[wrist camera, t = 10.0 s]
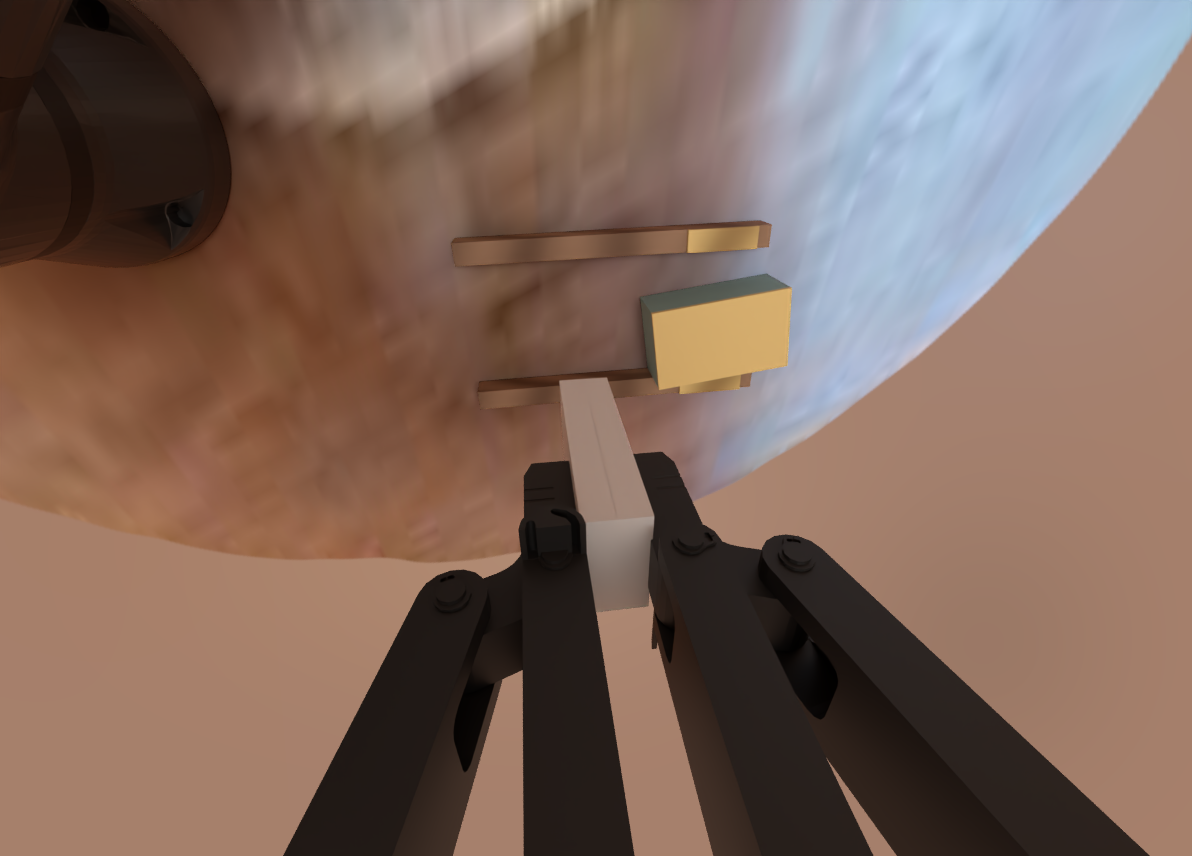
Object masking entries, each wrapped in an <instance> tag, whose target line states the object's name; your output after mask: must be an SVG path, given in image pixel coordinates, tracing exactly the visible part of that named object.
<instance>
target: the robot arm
mask: <svg viewBox="0 0 1192 856" xmlns="http://www.w3.org/2000/svg"><path fill="white" fill-rule="evenodd" d="M229 189H230V160H229V153H228V147H227V143H226V139H225V135H224V131H223V128H222V125H221V122H220V120H219V117H218V115H217V112H216V110H215V108H214V106H213V103H212V101H211V99H210V97H209V95H208V94H207V92H206V90H205V88H204V86H203V85H202V83H201V81H200V80H199V78H198V77H197V75H196V74H195V72H194V71H193V69H192V68H191V66H190V65H189V63H188V62H187V61H186V59H185V58H184V57H183V55H182V54H181V53H180V52H179V51H178V49H177V48H176V47H175V46H174V45H173V43H172V42H171V41H170V40H169V39H168V38H167V37H166V36H165V35H164V34H163V33H162V32H161V31H160V30H159V29H158V28H157V27H156V26H155V25H154V24H153V23H152V22H151V21H150V20H149V19H148V18H147V17H146V16H144V15H143V14H142V13H141V12H140V11H139V10H137V9H136V8H135V7H134V6H132V5H131V4H130V3H129V2H127V1H126V0H0V267H4V266H8V265H12V264H15V263H19V262H23V261H27V260H31V259H39V260H48V261H57V262H65V263H74V264H82V265H91V266H100V267H114V268H118V267H134V266H142V265H148V264H152V263H156V262H159V261H162V260H165V259H168V258H171V257H174V256H177V255H180V254H182V253H184V252H187V251H189V250H191V249H192V248H194V247H196V246H197V245H198V244H200V243H201V242H202V241H203V240H204V239H206V238H207V237H208V236H209V234H210V233H211V232H212V231H213V230H214V228H215V227H216V226H217V224H218V222H219V221H220V219H221V217H222V215H223V212H224V210H225V207H226V204H227V200H228V195H229ZM559 385H560V403H561V422H562V440H563V455H564V461H559V462H547V463H535V464H531V466H530V467H529V469H528V470H527V472H526V474H525V475H524V518H523V519H522V520H521V523H520V526H519V539H520V547H521V555H520V557H519V558H518V559H517V560H516V562H515V563H514V564H513V565H511V566H510V567H509V568H507V569H505V570H503V571H501V572H499V573H497V574H494V575H492V576H489V577H486V578H484V579H483V578H482V577H481V576H479V575H478V574H476V573H475V572H471V571H467V570H453V571H448V572H446V573H443V574H440V575H438V576H436V577H435V578H433V579H432V580H431V581H429V582H428V583H426V584H425V586H424V587H423V588H422V590H421V591H420V592H419V594H418V596H417V597H416V599H415V601H414V603H413V605H412V607H411V609H410V611H409V613H408V615H407V617H406V619H405V621H404V623H403V625H402V627H401V629H400V630H399V633H398V634H397V636H396V638H395V640H394V642H393V644H392V646H391V648H390V650H389V652H388V654H387V656H386V658H385V660H384V661H383V663H382V665H381V667H380V669H379V671H378V673H377V675H376V677H375V679H374V681H373V683H372V685H371V687H370V689H369V690H368V692H367V694H366V697H365V698H364V700H363V702H362V704H361V706H360V708H359V710H358V712H357V714H356V716H355V718H354V720H353V721H352V723H351V725H350V727H349V729H348V731H347V733H346V735H345V737H344V739H343V741H342V743H341V745H340V747H339V749H338V750H337V752H336V754H335V756H334V758H333V760H332V762H331V764H330V766H329V768H328V770H327V772H326V774H325V776H324V778H323V780H322V782H321V783H320V785H319V787H318V789H317V791H316V793H315V795H314V797H313V799H312V801H311V803H310V805H309V807H308V809H307V811H306V812H305V815H304V817H303V818H302V820H301V822H300V824H299V826H298V828H297V830H296V832H295V834H294V836H293V838H292V840H291V842H290V844H289V845H288V847H287V849H286V851H285V853H284V855H283V856H453V853H454V849H455V846H456V842H457V839H458V834H459V831H460V828H461V824H462V821H463V817H464V814H465V810H466V807H467V803H468V800H469V796H470V793H471V789H472V786H473V782H474V778H475V775H476V772H477V768H478V764H479V760H480V757H481V754H482V750H483V747H484V743H485V740H486V736H487V733H488V729H489V726H490V722H491V719H492V715H493V712H494V708H495V705H496V701H497V697H498V693H499V690H500V687H501V683H502V679H504V678H506V677H508V676H510V675H513V674H515V673H517V672H519V671H521V670H523V795H524V796H523V800H524V801H523V803H524V805H523V808H524V856H634V851H633V843H632V838H631V831H630V824H629V818H628V812H627V805H626V799H625V792H624V787H623V780H622V773H621V767H620V761H619V755H618V748H617V742H616V735H615V729H614V723H613V716H612V711H611V704H610V698H609V691H608V685H607V678H606V672H605V666H604V659H603V653H602V647H601V640H600V634H599V628H598V621H597V615H596V612H603V611H611V610H620V609H629V608H637V607H646V606H648V604H649V592H650V596H651V599H652V603H653V607H654V616H653V628H652V649H656V648H657V642H658V646H659V650H660V654H661V658H662V661H663V665H664V669H665V673H666V677H667V680H668V684H669V688H670V692H671V696H672V700H673V703H674V707H675V711H676V715H677V719H678V722H679V726H680V730H681V734H682V737H683V742H684V745H685V749H686V753H687V757H688V761H689V764H690V768H691V772H692V776H693V780H694V784H695V787H696V791H697V795H698V799H699V802H700V806H701V810H702V814H703V818H704V821H705V826H706V829H707V833H708V837H709V841H710V845H711V849H712V852H713V856H873V854H872V852H871V850H870V848H869V846H868V844H867V842H866V839H865V837H864V835H863V833H862V831H861V830H860V827H859V825H858V823H857V821H856V819H855V817H854V815H853V813H852V811H851V809H850V806H849V805H848V802H847V800H846V798H845V796H844V794H843V792H842V790H841V788H840V786H839V784H838V781H837V779H836V777H835V775H834V773H833V771H832V769H831V767H830V765H829V763H828V761H827V759H828V760H829V762H830V763H831V765H832V766H833V767H834V769H835V770H836V771H837V773H838V774H839V776H840V777H841V779H842V780H843V781H844V783H845V784H846V786H847V787H848V788H849V790H850V791H851V792H852V794H853V795H854V797H855V798H856V799H857V801H858V802H859V804H860V805H861V806H862V808H863V809H864V811H865V812H866V813H867V815H868V816H869V817H870V819H871V820H872V821H873V823H874V824H875V826H876V827H877V829H878V830H879V831H880V833H881V834H882V835H883V837H884V838H885V840H886V841H887V843H888V844H889V845H890V847H891V848H892V849H893V851H894V852H895V853H896V855H897V856H1149V855H1148V854H1147V853H1146V852H1145V851H1144V850H1143V849H1142V848H1141V847H1140V846H1139V845H1138V844H1137V843H1136V842H1135V841H1133V840H1132V839H1131V838H1130V837H1129V836H1128V835H1127V834H1126V833H1125V832H1124V831H1123V830H1122V829H1121V828H1120V827H1118V826H1117V825H1116V824H1115V823H1114V822H1113V821H1112V820H1111V819H1110V818H1109V817H1108V816H1107V815H1106V814H1105V813H1104V812H1102V811H1101V810H1100V809H1099V808H1098V807H1097V806H1096V805H1095V804H1094V803H1093V802H1092V801H1091V800H1090V799H1089V798H1087V797H1086V796H1085V795H1084V794H1083V793H1082V792H1081V791H1080V790H1079V789H1078V788H1077V787H1076V786H1075V785H1074V784H1073V783H1071V782H1070V781H1069V780H1068V779H1067V778H1066V777H1065V776H1064V775H1063V774H1062V773H1061V772H1060V771H1059V770H1058V769H1057V768H1055V767H1054V766H1053V765H1052V764H1051V763H1050V762H1049V761H1048V760H1047V759H1046V758H1045V757H1044V756H1042V755H1041V754H1040V753H1039V752H1038V751H1037V750H1036V749H1035V748H1034V747H1033V746H1032V745H1031V744H1030V743H1029V742H1028V741H1027V740H1026V739H1024V738H1023V737H1022V736H1021V735H1020V734H1019V733H1018V732H1017V731H1016V730H1015V729H1014V728H1013V727H1012V726H1011V725H1010V724H1008V723H1007V722H1006V721H1005V720H1004V719H1003V718H1002V717H1001V716H1000V715H999V714H998V713H996V711H995V710H994V709H992V708H991V707H990V706H989V705H988V704H987V703H986V702H985V701H984V700H983V699H982V698H981V697H980V696H979V695H977V694H976V693H975V692H974V691H973V690H972V689H971V688H970V687H969V686H968V685H967V684H966V683H965V682H964V681H963V680H961V679H960V678H959V677H958V676H957V675H956V674H955V673H954V672H953V671H952V670H951V669H950V668H949V667H948V666H946V665H945V664H944V663H943V662H942V661H941V660H940V659H939V658H938V657H937V656H936V655H935V654H934V653H933V652H932V651H930V650H929V649H928V648H927V647H926V646H925V645H924V644H923V643H922V642H921V641H920V640H918V638H916V636H914V635H913V634H912V633H911V632H910V631H909V630H908V629H907V628H906V627H905V626H904V625H903V624H902V623H901V622H899V621H898V620H897V619H896V618H895V617H894V616H893V615H892V614H891V613H890V612H889V611H888V610H887V609H886V608H885V607H883V606H882V605H881V604H880V603H879V602H878V601H877V600H876V599H875V598H874V597H873V596H872V595H871V594H870V593H869V592H867V591H866V590H865V589H864V588H863V587H862V586H861V585H860V584H859V583H858V582H857V581H856V580H855V579H854V578H853V577H851V576H850V575H849V574H848V573H847V572H846V571H845V570H844V569H843V568H842V567H841V566H840V565H839V564H838V563H836V562H835V561H834V560H833V559H832V558H831V557H830V556H829V555H828V554H827V553H826V552H825V551H824V550H823V549H821V548H820V547H819V546H817V545H816V544H814V543H813V542H812V541H809V540H806V539H804V538H802V537H799V536H793V535H779V536H774V537H772V538H770V539H769V540H767V541H766V542H765V544H764V546H763V547H762V550H759V549H751V548H744V547H739V546H734V545H730V544H727V543H725V542H722V541H721V539H720V538H719V536H718V535H717V534H716V533H715V531H713V530H712V529H710V528H708V527H707V526H705V525H703V524H702V522H701V520H700V517H699V515H698V513H697V511H696V509H695V506H694V504H693V502H692V500H691V498H690V496H689V493H688V491H687V489H686V487H685V486H684V482H683V480H682V478H681V477H680V474H679V472H678V469H677V467H676V465H675V463H674V461H672V460H671V459H670V458H669V457H667V456H666V455H665V454H664V453H663V452H653V453H640V454H633V452H632V449H631V446H630V444H629V441H628V438H627V435H626V432H625V429H624V426H623V423H622V420H621V417H620V414H619V412H618V409H617V406H616V403H615V400H614V397H613V394H612V391H611V388H610V385H609V382H608V380H607V377H606V378H591V379H575V380H560V381H559ZM826 758H827V759H826Z"/></svg>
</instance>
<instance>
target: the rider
mask: <svg viewBox="0 0 1192 856" xmlns="http://www.w3.org/2000/svg"><path fill="white" fill-rule="evenodd" d="M791 293H792V288H791V287H789V286H787V285H786V284H784V283H782V282H780V281H779V280H777V279H775V278H773V277H772V276H770V275H768V274H762V275H757V276H751V277H746V278H740V279H735V280H730V281H724V282H719V283H713V284H708V285H702V286H697V287H692V288H686V289H681V290H675V291H670V292H664V293H659V294H654V295H648V296H643V297H640V301H641V310H642V320H643V329H644V339H645V349H646V358H647V368H648V370H649V372H650V373H651V375H652V377H653V379H654V381H655V383H656V385H657V387H658V389H659V390H662V389H668V388H673V387H678V386H684V385H689V384H694V383H699V382H705V381H710V380H715V379H720V378H726V377H731V376H736V375H741V374H747V373H752V372H757V371H762V370H768V369H773V368H778V367H784V366H787V363H788V345H789V328H790V311H791Z"/></svg>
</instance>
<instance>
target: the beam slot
mask: <svg viewBox="0 0 1192 856" xmlns="http://www.w3.org/2000/svg"><path fill="white" fill-rule="evenodd" d="M771 227H772V225H771V224H769V223H766V222H763V221H743V222H726V223H708V224H691V225H673V226H656V227H639V228H621V229H604V230H586V231H569V232H551V233H534V234H517V235H499V236H482V237H464V238H455V239H454V240H453V241H452V243H451V246H452V252H453V258H454V263H455V267H456V266H472V265H489V264H505V263H521V262H537V261H553V260H569V259H585V258H601V257H618V256H634V255H650V254H666V253H682V252H687V253H697V252H713V251H729V250H745V249H757V248H763V247H769V241H770V234H771ZM751 374H752V373H747V374H741V375H736V376H731V377H726V378H720V379H715V380H710V381H705V382H699V383H694V384H689V385H684V386H678V387H673V388H668V389H662V390H659V389H658V387H657V385H656V383H655V381H654V379H653V377H652V375H651V373H650V372H649V370H648V368H641V369H628V370H616V371H604V372H591V373H579V374H567V375H554V376H542V377H529V378H517V379H505V380H492V381H480V382H479V387H478V392H477V393H478V399H479V405H480V409H491V408H503V407H515V406H527V405H538V404H550V403H560V385H559V381H560V380H575V379H591V378H606V377H607V380H608V382H609V385H610V388H611V391H612V394H613V397H614V398H620V397H632V396H644V395H655V394H667V393H679V394H687V393H699V392H711V391H722V390H734V389H739V388H740V387H749V386H750V381H751Z"/></svg>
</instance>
